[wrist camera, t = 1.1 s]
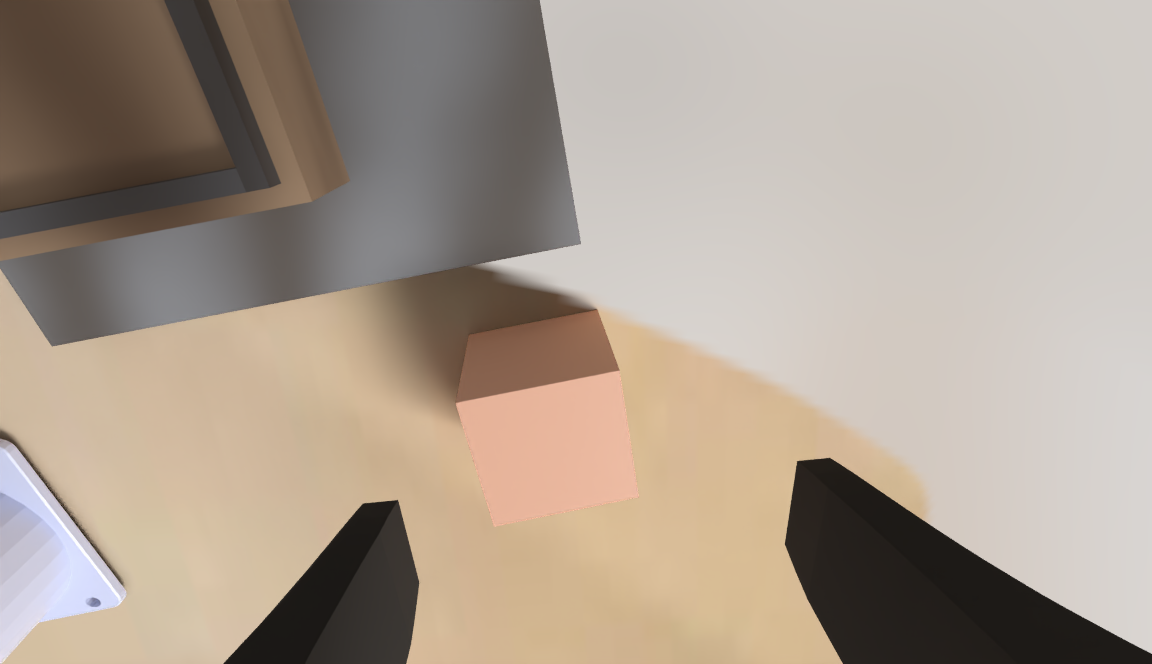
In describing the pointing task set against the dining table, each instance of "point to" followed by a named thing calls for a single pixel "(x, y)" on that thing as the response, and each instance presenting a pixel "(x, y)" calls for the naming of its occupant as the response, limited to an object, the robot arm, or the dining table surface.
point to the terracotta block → (546, 418)
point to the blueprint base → (266, 151)
